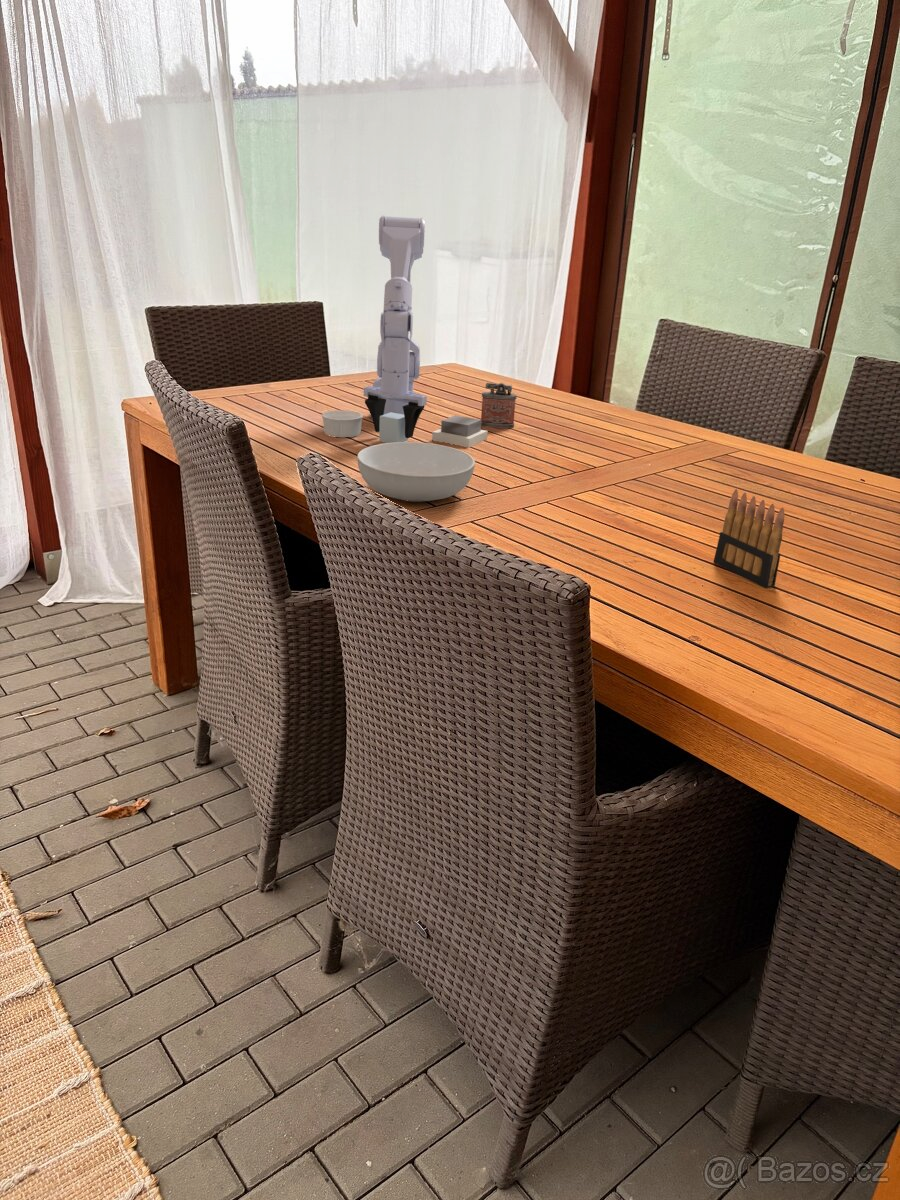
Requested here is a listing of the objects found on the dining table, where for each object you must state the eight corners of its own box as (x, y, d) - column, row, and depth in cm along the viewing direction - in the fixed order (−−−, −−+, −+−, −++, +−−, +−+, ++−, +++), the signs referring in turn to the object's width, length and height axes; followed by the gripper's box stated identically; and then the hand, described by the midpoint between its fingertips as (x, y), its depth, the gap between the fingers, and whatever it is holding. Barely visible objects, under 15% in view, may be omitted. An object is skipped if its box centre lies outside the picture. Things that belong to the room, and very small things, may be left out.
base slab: (432, 443, 195) (432, 431, 193) (451, 435, 202) (451, 424, 201) (468, 450, 191) (469, 438, 190) (486, 441, 198) (487, 430, 197)
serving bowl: (385, 519, 147) (386, 479, 144) (339, 483, 164) (339, 446, 161) (494, 505, 156) (496, 468, 154) (440, 472, 173) (441, 437, 170)
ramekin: (314, 435, 193) (314, 415, 192) (334, 427, 201) (334, 407, 199) (350, 441, 191) (350, 421, 189) (369, 432, 198) (369, 413, 196)
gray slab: (440, 431, 194) (441, 420, 193) (454, 426, 199) (455, 415, 198) (467, 436, 191) (468, 425, 190) (480, 431, 197) (481, 419, 196)
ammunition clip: (712, 562, 137) (727, 488, 132) (721, 560, 138) (736, 486, 133) (766, 588, 129) (783, 510, 124) (774, 586, 130) (792, 508, 125)
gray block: (379, 441, 192) (379, 416, 189) (390, 437, 195) (390, 412, 193) (397, 444, 190) (397, 419, 187) (407, 440, 193) (408, 415, 191)
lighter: (514, 425, 211) (517, 382, 206) (513, 428, 208) (517, 385, 203) (480, 422, 211) (483, 380, 207) (479, 426, 208) (482, 383, 204)
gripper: (355, 368, 186) (355, 432, 192) (415, 377, 180) (413, 443, 186) (374, 363, 192) (373, 426, 197) (432, 372, 186) (430, 436, 191)
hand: (393, 434), depth 192 cm, fingers open, 7 cm apart
